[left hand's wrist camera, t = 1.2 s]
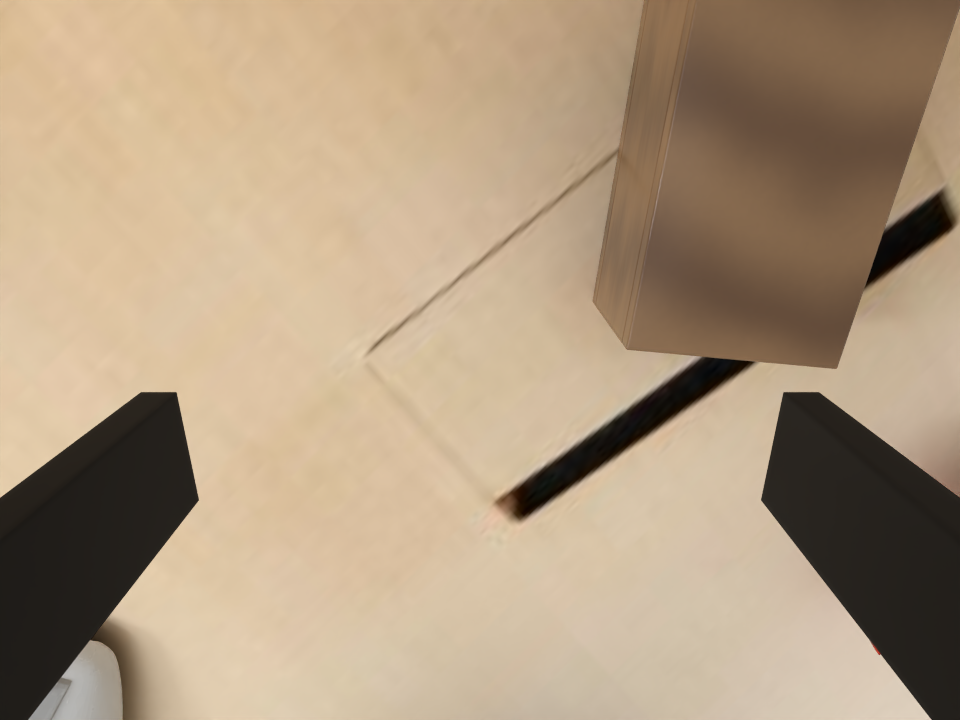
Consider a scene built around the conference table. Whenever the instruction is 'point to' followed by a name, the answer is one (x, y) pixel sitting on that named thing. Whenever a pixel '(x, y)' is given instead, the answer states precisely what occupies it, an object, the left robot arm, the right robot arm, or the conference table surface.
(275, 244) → the conference table surface
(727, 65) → the cabinet
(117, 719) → the projector
